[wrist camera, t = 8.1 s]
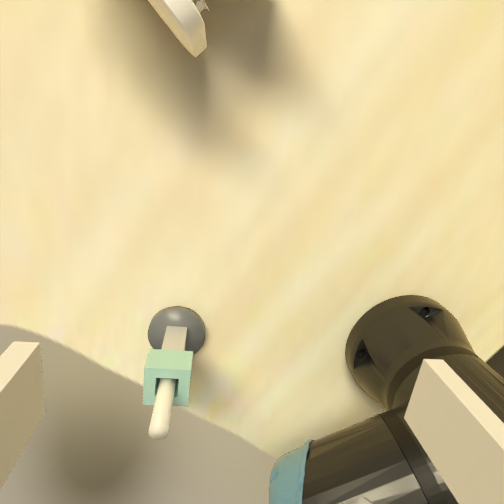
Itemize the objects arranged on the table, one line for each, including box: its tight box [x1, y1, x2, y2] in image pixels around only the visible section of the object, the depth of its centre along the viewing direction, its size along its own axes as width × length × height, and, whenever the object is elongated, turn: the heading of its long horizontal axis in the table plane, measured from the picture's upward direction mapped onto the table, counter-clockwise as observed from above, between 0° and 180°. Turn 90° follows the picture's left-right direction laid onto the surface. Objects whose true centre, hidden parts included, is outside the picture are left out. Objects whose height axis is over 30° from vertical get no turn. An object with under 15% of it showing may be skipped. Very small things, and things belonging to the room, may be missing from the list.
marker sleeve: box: [143, 349, 193, 406], centre depth 36 cm, size 4×4×3 cm
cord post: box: [148, 306, 205, 440], centre depth 37 cm, size 7×7×16 cm
